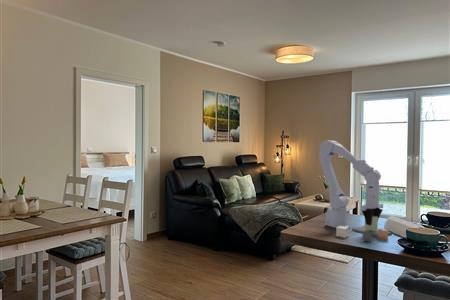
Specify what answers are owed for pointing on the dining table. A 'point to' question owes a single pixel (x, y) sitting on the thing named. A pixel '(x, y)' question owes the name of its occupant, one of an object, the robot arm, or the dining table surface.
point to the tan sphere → (382, 234)
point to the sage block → (372, 224)
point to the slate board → (368, 231)
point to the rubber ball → (366, 237)
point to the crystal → (399, 225)
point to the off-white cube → (342, 231)
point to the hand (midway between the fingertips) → (371, 224)
